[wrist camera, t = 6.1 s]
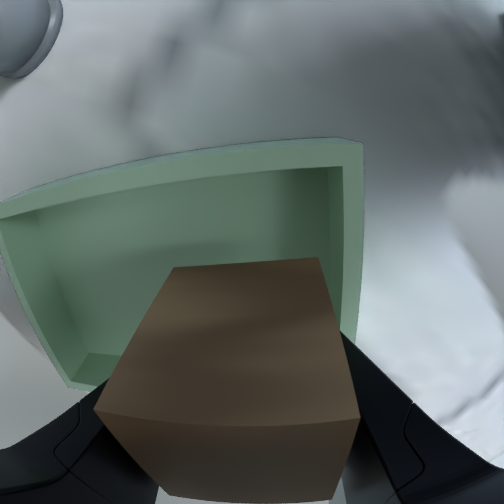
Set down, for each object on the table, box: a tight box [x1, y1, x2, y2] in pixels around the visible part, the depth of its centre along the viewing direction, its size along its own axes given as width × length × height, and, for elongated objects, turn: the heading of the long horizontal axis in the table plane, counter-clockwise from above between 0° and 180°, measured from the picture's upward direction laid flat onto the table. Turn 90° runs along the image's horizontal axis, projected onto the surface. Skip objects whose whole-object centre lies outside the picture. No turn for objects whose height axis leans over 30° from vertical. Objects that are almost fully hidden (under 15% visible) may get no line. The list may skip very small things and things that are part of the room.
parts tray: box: [0, 137, 364, 392], centre depth 11 cm, size 14×10×3 cm
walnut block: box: [93, 257, 360, 504], centre depth 7 cm, size 4×4×5 cm
